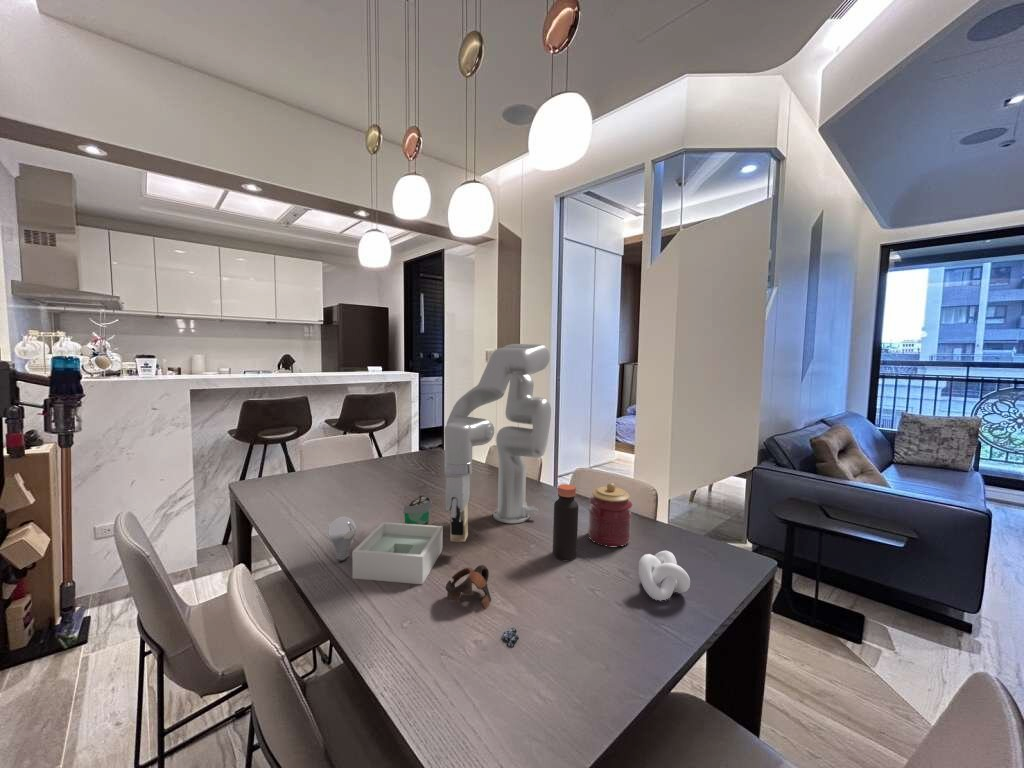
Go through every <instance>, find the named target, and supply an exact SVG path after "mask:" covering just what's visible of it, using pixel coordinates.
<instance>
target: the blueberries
mask: <svg viewBox="0 0 1024 768" xmlns="http://www.w3.org/2000/svg"><path fill="white" fill-rule="evenodd" d="M517 632H518V631H517V629H516V628H515V627H511V628H510V629H507V630H506V631H504V632H503V633H502V635H501V640H502V641H503V643H504V644H505V646H506V647H509V648H515V644H517V642H518V640H520V637H519V634H517Z"/></svg>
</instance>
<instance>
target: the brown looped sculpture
mask: <svg viewBox="0 0 1024 768" xmlns="http://www.w3.org/2000/svg"><path fill="white" fill-rule="evenodd" d="M489 573H490V572H489V569H488V567H487V566H486V565H484V564H481V565H478V566H477V567H476V568H474V569H473V568H471V567H465V568H464V567H463V568H462V569H461V570H459V571H457V572H456V573H455V574H453V575H452V577H451V578H452V580H453V581H451V580H448V581H447V582H446V584H445V590H446V592H447V594H446V595H447V600H449V601H454V600H455V601H456V602H457V603H460V602H461V594H463V595H466V596H473V595H474V594H475V593H474V592H473V591H474V590H473V587H472V585H475V587H476V588H477V589H478V590H481V591H483V593H484V597H483V598H482V599H481V601H480V603H481V605H482V607H483V610H487V609H488V608H489V606H490V604H491V601H492V597H491V594H490V591H489V587H488V584H487V583H488V580H489V575H490V574H489ZM467 575H468V576H467ZM465 576H467V578H466V579H465V580H464V581H463V582H461V583H459V584H458V585H457V586H456V585H455V584H456V583H457V582H458V581H459V580H461V578H464V577H465Z"/></svg>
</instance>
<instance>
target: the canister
mask: <svg viewBox="0 0 1024 768" xmlns="http://www.w3.org/2000/svg"><path fill="white" fill-rule="evenodd" d="M630 498H631V496H630V494H629V493H628V492H626V491H625V490H624V489H622V488H620V487H616V485H615V484H614V483H613V482H609V483H608V484H607V485H605V486H600V487H598V488H596V489H594V490H593V491H592V496H590V498H589V500H588V501H589V503H590V507H589V509H588V512H589V516H588V528H587V533H588V538H589V537H590V538H591V539H592V540H593V541H595V542H597V543H599V544H602V545H607V546H621V545H625V544H627V543H628V542H629V541H630V540H631V538H632V537H631V534H632V533H631V530H632V529H631V528H632V527H631V524H632V522H631V521H632V517H633V515H632V512H631V508H632V507H633V503H632V501H631V500H630ZM590 538H589V539H590ZM591 539H590V540H591ZM592 540H591V541H592ZM593 541H592V542H593ZM595 542H594V543H595ZM630 542H631V541H630ZM630 542H629V543H630ZM597 543H596V544H597ZM629 543H628V544H629ZM599 544H598V545H599ZM628 544H627V545H628ZM602 545H601V546H602ZM625 546H626V545H625Z"/></svg>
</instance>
